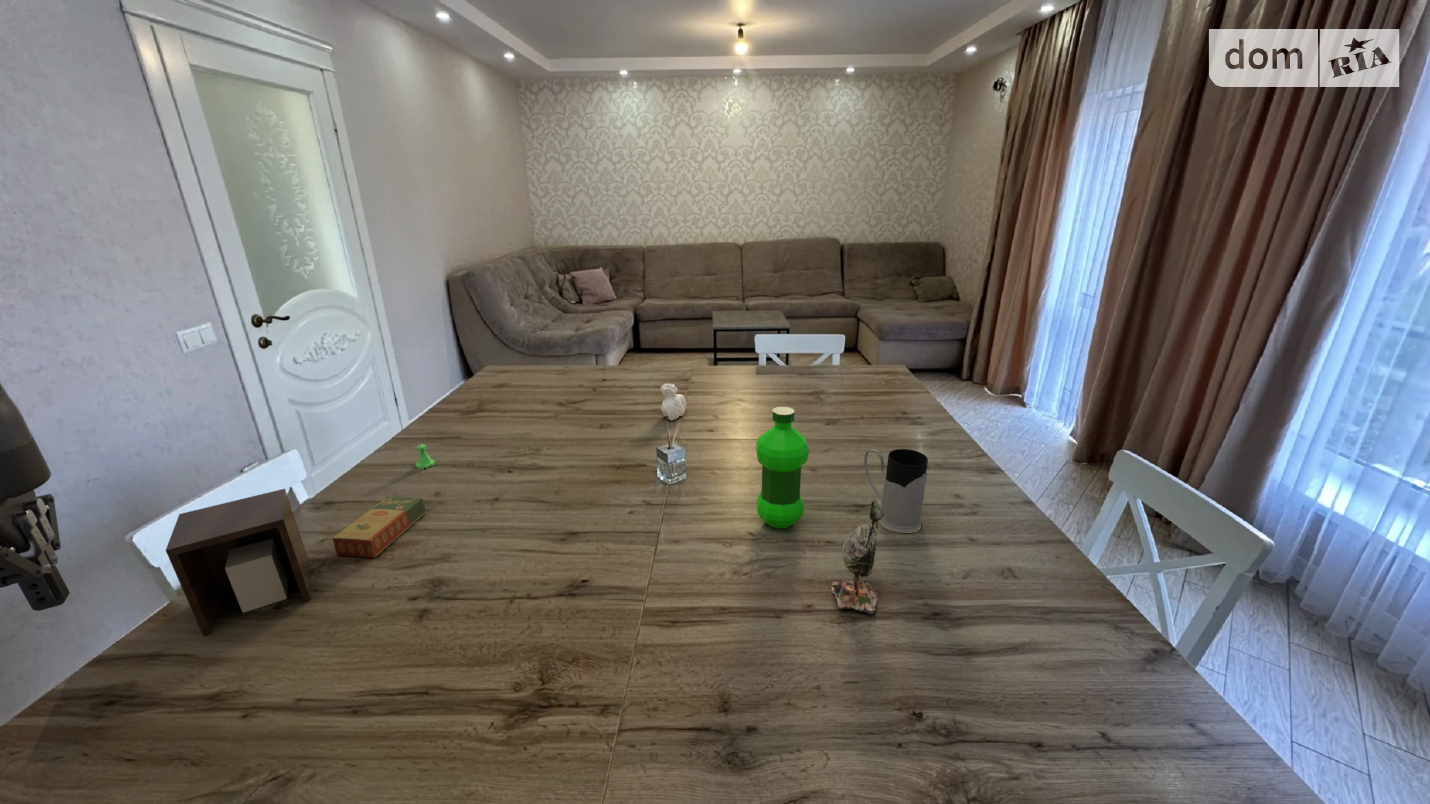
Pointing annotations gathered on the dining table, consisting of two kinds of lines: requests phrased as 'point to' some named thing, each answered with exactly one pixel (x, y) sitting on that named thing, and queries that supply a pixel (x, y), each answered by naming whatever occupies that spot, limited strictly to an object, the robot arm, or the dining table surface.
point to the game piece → (423, 458)
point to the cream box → (257, 575)
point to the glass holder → (902, 488)
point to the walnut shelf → (232, 547)
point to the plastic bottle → (781, 470)
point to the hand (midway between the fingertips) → (52, 603)
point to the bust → (672, 402)
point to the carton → (379, 526)
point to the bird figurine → (859, 565)
